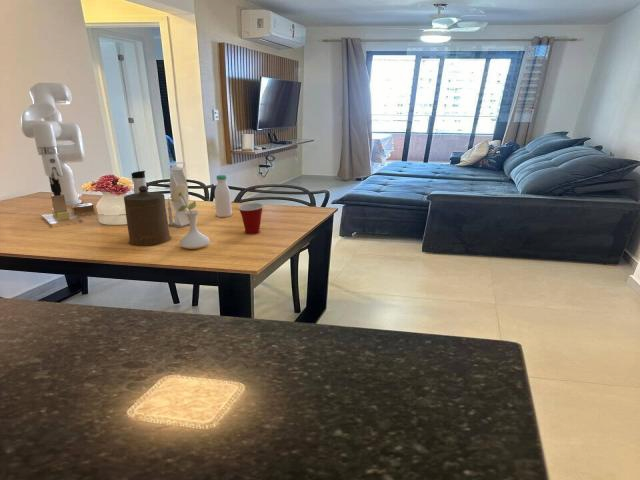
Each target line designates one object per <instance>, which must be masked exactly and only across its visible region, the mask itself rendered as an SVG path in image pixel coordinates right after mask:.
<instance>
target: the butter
mask: <svg viewBox="0 0 640 480" xmlns="http://www.w3.org/2000/svg"><path fill="white" fill-rule="evenodd" d="M52 213H53V215H54V216H55V217H56V218H58V217H57V213H54V208H51V214H52Z"/></svg>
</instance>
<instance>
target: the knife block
mask: <svg viewBox="0 0 640 480" xmlns="http://www.w3.org/2000/svg"><path fill="white" fill-rule="evenodd" d="M70 211H71V212H72V213H73V214H74V215H77V216H78V215H83V214H90V213H95V207H94V204H93V203H91V202H89V203H80V204H75V205H70Z"/></svg>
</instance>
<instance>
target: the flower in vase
mask: <svg viewBox="0 0 640 480" xmlns="http://www.w3.org/2000/svg"><path fill="white" fill-rule="evenodd" d="M187 186H188V185H187ZM187 186H186V185H185V186H184V184H181V186H180V185H178V186H177V187H176V189H175V190H173V194H172V195H171V194H170V197H169V199H170V201H171V202H172V201H175V202H176V201H178V200H180V199H181V198H183V199H184V197H183V196H184V195H185V193H186V190H187ZM171 198H172V199H171ZM184 201H185V199H184ZM185 204H186V201H185ZM186 207H187V211H186V212H185V214H186V215H187V216H188V218H189V221H190V225H189V232H187V233H186V234H185V235H184V236H183V237H182V238H181V239H180V240H179V244H178V245H179V246H180V247H181V248H182V249H188V250H196V249H202V248H205V247H206V246H208V245H210V242H211V240H210V238H209V237H208V236H207V235H205V234H203V233H202V232H200V231H199V230H198V228H197V216H198V214H199V213H200V212H199V210H195V208H196V207H197V203H196V201H193V202H191V203H190V204H188V205H187V204H186V206H185V205H183V206H181V207H180V208H179V209H178V211H183V210H184V209H185V208H186Z"/></svg>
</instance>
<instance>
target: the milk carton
mask: <svg viewBox="0 0 640 480" xmlns="http://www.w3.org/2000/svg"><path fill="white" fill-rule="evenodd" d="M178 164H182V167H181V166H180V165H179V166H177V165H178ZM185 165H186V163H185V162H184V161H181V162H180V161H178V162H175V163H173V164H172V166H171V168H170V169H169V172H170V175H169V193H170V196H171V195H172V194H173V190H175V189H176V187H177V186H178V185H180V186H181V184H184V186H185V185H186V186H187V190H186V193H185V195H184V196H183V197H184V199H185V201H186V204H187V206H189V186H188V181H187V178H186V175H185V171H184V169H185ZM171 199H172V198H170V197H167V200H168V201H167V205H168V207H167V211H168V227H169V226H170V227H174V228H178V229H180V228H183V227H186V226H187V227H188V226H190V221H189V218H188V216H187V215H186V214H185V212H186V211H188V208H187V207H186V208H185V209H184V210H183V211H178V209H179V208H180V207H181V206H183V205H185V206H186V204H185V201H184V199H183V198H181V199H180V200H178V201H176V202H175V201H171V202H172V206H173V210H174V213H175V215H174V217H173V213H172V212H173V210H172V207H171V202H170V200H171Z"/></svg>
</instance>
